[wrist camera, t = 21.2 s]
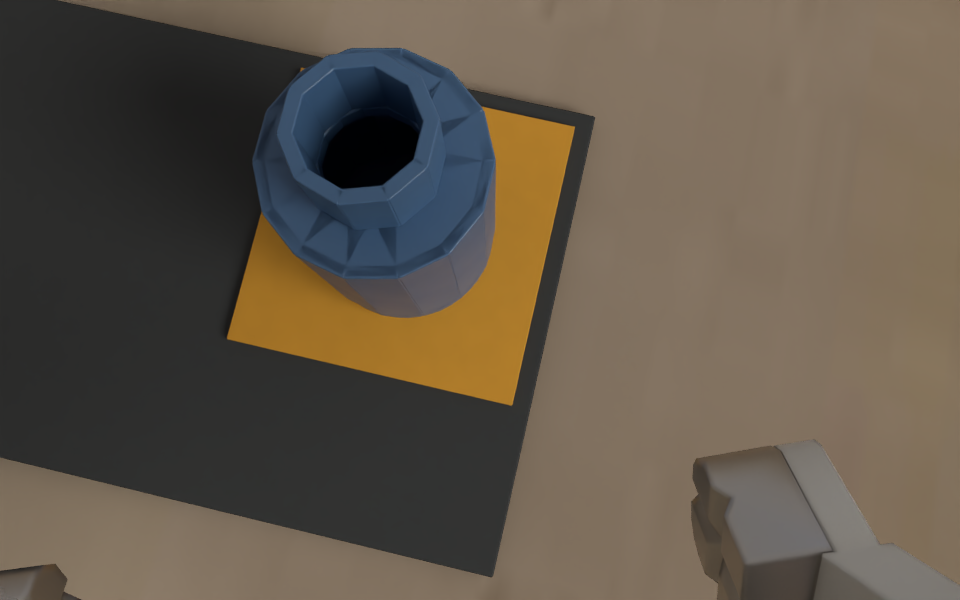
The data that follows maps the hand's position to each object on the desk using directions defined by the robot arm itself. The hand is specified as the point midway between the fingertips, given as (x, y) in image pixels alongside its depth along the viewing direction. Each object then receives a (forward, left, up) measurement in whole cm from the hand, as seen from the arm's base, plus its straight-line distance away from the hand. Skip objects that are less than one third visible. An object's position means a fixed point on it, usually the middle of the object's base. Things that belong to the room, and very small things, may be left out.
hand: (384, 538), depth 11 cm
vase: (-2, +6, -12) cm, 13 cm away
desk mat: (-8, +4, -12) cm, 15 cm away
